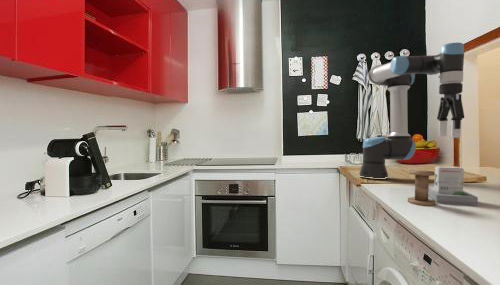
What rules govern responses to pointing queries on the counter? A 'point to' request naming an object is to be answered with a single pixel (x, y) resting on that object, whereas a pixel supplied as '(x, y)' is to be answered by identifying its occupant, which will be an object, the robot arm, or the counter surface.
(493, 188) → the counter surface
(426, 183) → the bobbin
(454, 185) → the ink box
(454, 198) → the grey piece
